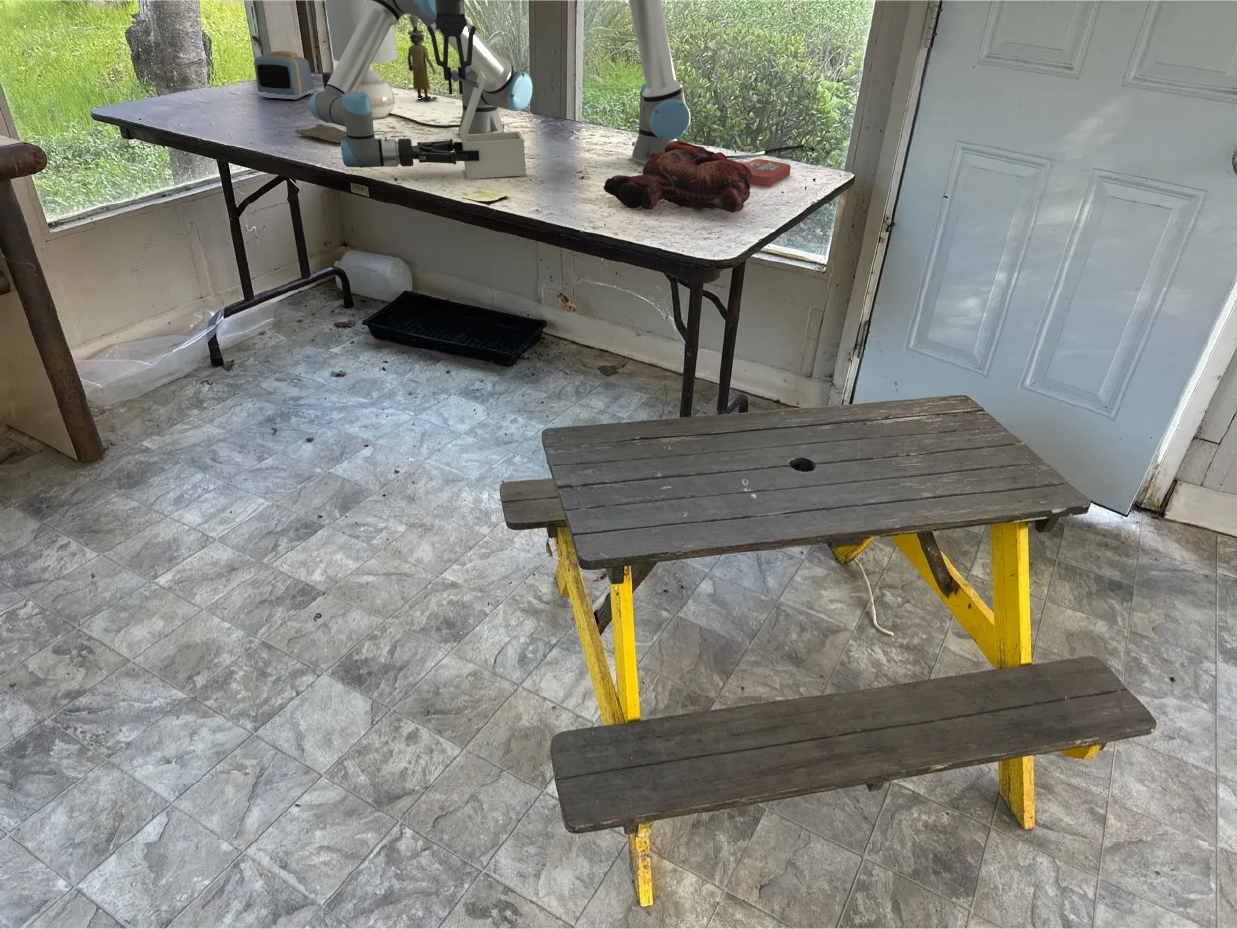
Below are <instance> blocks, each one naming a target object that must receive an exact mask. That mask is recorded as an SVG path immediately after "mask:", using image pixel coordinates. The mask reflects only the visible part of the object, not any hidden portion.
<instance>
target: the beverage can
mask: <svg viewBox="0 0 1237 929" xmlns="http://www.w3.org/2000/svg"><path fill="white" fill-rule="evenodd" d="M333 72H334V71H323V72H322V74H321V77H322V85H323V90H324V89H325V87H326V85H327V83H328V81H329V79H330V78H331V76H332V74H333Z"/></svg>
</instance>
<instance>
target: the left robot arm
mask: <svg viewBox="0 0 1237 929" xmlns="http://www.w3.org/2000/svg"><path fill="white" fill-rule="evenodd" d="M366 6H367V10H366V11H365V13H364V15H363V17H362V19H361V21H360V23H359V25H358V27H357V28H356V30H355V32H354V34H353V36H352V38H351V40H350V42H349V44H348V45H347V47H346V49H345V51H344V53H343V55H342V57H341V59H340V61H337V62H338V63H337V64H336V66H335V68H334V71H332V72H333V74H332V76H331V78H330V79H329V81H328V83H327V85H326V87H325V89H324V88H323V90H322V91H317V92H315V93H314V94H313V95H312V94H311V97H310V99H309V102H308V105H309V106H308V107H309V110H310V113H311V114H312V115H313V117H314V118H315V119H317V120H320V121H322V122H325V123H329V124H333V125H337V126H341V127H344V128H345V131H346V133H347V139H344V140H342V141H341V143H340V151H341V158H342V163H343V165H344V166H345V167H347V168H360V169H362V168H398V167H399V166H401V167H414V165H415V164H414V163H415V162H414V160H418V163H420V164H422V163H423V164H424V163H432V164H452V165H454V166H455V165H457V162H464V161H479V150H473V151H463V146H462V141H454V139H453V138H449V139H447V140H434V141H418V142H416V145H413V142H412V139H411V138H409V137H408V138H407V137H406V138H403V137H402V138H397V140H396V138H389V137H388V136H384V138H376V136H375V127H374V119H373V117H372V107H371V103H370V98H369V96H368V95H367V94H365V93H359V92H356V91H357V89H358V87H359V85H360V83H361V81H362V80H363V78H364V76H365V74H366V72H367V70H368V68H369V66H370V65H371V63H372V61H373V59H374V57H375V55H376V53H377V52H378V50H379V48H380V46H381V44H382V42H383V40H384V38H385V37H386V35H387V33H388V31H389V29H390V27H391V26H392V25H394V26H396V25H397V24H398V22H399V21H400V19H401V18H402V17H403V16H404V15H409V16H410V15H415V16H417V17H418V18H419V20H420V21H421V22H422V24H423V25H424V26H425V27H426V28H427V25H431V24H432V23H434V22H435V19H436V4H435V0H367V1H366ZM465 18H466V20H467V23H469V24H471V25H472V23H471V22H470V21H469V20H468V18H467V17H466V16H465ZM436 32H438V33H439V34H440V35H441V37H442V38H443V37H444V35H443V34H442V32H441V31H440V30H439V28H438V27H436ZM468 34H469V33H468V32H467V27H465V29H464V31H463V32H462V34H461V35H460V36H461V43H462V49H463V55H464V61H467V47H468ZM448 45H450V47H452V49H453V50H454V51H455V52H456V53H457V54H458V48H457V42H456V37H453V36H451V37H449V43H448ZM498 56H499V55H498V54H497V52H496V51H495V50H494V49H493V48H492V47H491V46H490V44H489V43H488V42H487V41H486V40H485V39H484V37H483V36H482V35H481V34H480V33H479V32H478V30H477V29H476V31H475V34H474V36H473V51H472V64H471V65H470V66H467V67H466V68H465V73H466V78H468V79H470V80H473V81H475V82H476V80H477V77H478V74H479V71H482V72H483V73H484V75H485V77H486V81H485V84H484V87H483V90H482V93H481V96H480V99H479V102H478V104H477V107H476V110H475V113H474V116H473V119H472V122H471V125H470V128H469V131H468V134H467V135H469V134H486V133H503V132H505V124H504V123H503V122H502V119H501V117H500V114H499V108H500V109H506V110H509V111H511V112H520V111H523V110H525V109H526V108H527V107H528V105H529V103H530V101H531V99H532V97H533V81H532V78H531V77H530V75H529V74H528V73H527V72H524V71H519V70H517V69H516V68H515V66H513V64H512V63H511V61H510V60H509V59H508V58H505V57H502V58H499V57H498ZM372 64H373V63H372ZM473 89H474V87H473V86H471V85H468V84H466V83H464V82H462V90H463V94H461V105H462V113H461V118H460V121H459V124H446V125H445V124H433V123H426V122H422V121H418V120H416V119H413V118H410V117H407V116H404V115H400V114H396V113H392V112H390V113H389V114H388V115H387V116H390V117H394V118H398V119H401V120H405V121H408V122H411V123H414V124H417V125H419V126H423V127H428V128H429V127H430V128H435V129H453V128H454V129H455V128H458V136H459V137H460V138H461V136H460V129H461V126H462V123H463V120H464V117H465V114H466V111H467V107H468V104H469V101H470V98H471V95H472V92H473Z"/></svg>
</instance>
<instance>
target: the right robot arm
mask: <svg viewBox="0 0 1237 929" xmlns="http://www.w3.org/2000/svg"><path fill="white" fill-rule="evenodd" d="M628 3H629V8H630V12H631V18H632V22H633V27H634V31H635V37H636V42H637V49H638V52H639V57H640V61H641V67H642V72H643V77H644V81H645V82H644V83H642V84H641V85H640V91H639V120H638V135H637V138H636V140H635V141H633V142H632V143H631V147H633V150H632V154H631V161H632V162H633V163H634V164H635V165H638V166H643V167H645V165H646V163H647V162H648V160H650V159H651V158H650V157H651V155H652V154H653V153H657V152H658V153H660V152H664V153H665V147H666V146H667V145H668V144H669V143H671V142H673V141H677V140H678V139H679V138H680V137H682V136H683V135H684V134H685V133H686V132H687V130H688V128H689V127H690V123H691V112H690V109H689V106H688V105H687V104H686V99H685V93H684V88H683V84H682V83H681V82H680V81H678V80H677V79H676V72H675V67H674V63H673V57H672V52H671V45H670V41H669V40H670V39H669V35H668V29H667V25H666V17H665V13H664V7H663V0H628ZM435 4H436V19H435V22H434V23H432V24H431V25H427V27H426V30H427V31H428V33H429V35H430V39H431V44H432V49H433V53H434V59H435V64H436V66H439V67H441V68H442V73H443V79H444V81H447V82H448V84H447V85H448V93H449V95H453V83H452V82H453V80H452V78H451V71H452V68H451V66H449V37H451V36H453V37H456V42H457V48H458V53H457V55H458V59H459V65H460V66H457V72H458V74H459V78H462V79H464V80H466V73H465V68H466V67H467V66H470V65H471V64H472V51H473V36H474V34H475V31H476V30H477V27H476V26H475V24H472V23H471V24H469V23H467V20H468V19H467V17H466V9H465V0H435ZM465 17H466V18H465ZM466 19H467V20H466ZM436 27H438V28H439V30H440V31H441V32H442V34H443V35H444V37H443V36H442V39H443V43H442V44H443V45H442V60H441V56H440V50H439V46H438V42H437V37H436V36H437V35H436V33H437V31H436ZM465 27H467V32H468V33H469V34H468V47H467V61H464V55H463V49H462V43H461V36H460V35H461V34H462V32H463V31H464V29H465ZM458 92H459V93H458V94H459V95H462V94H463V90H462V82H461V81H458ZM803 145H804V144H800V145H799V144H798V145H793V146H782V147H776V148H771V149H766V150H763V151H758V152H754V153H749V154H741V155H739V154H738V155H725V156H726V158H727V159H741V158H742V159H743V158H750V157H754V156H759V155H765V154H768V153H772V152H777V151H782V150H794V149H800V148H805V147H804V146H803ZM809 149H810V150H811V151H812V152H816V149H815V148H814V147H812V148H809Z"/></svg>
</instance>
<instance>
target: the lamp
mask: <svg viewBox="0 0 1237 929" xmlns="http://www.w3.org/2000/svg"><path fill="white" fill-rule="evenodd" d="M366 1H367V0H324V3H325V9H326V18H327V23H328V30H329V37H330V45H331V51H332V58H333V60H334V61H336V62H339V61H340V59H341V57H342V55H343V53H344V51H345V49H346V47H347V45H348V44H349V42H350V40H351V38H352V36H353V34H354V32H355V30H356V28H357V27H358V25H359V23H360V21H361V19H362V17H363V15H364V13H365V11H366V10H367V6H366ZM397 59H398V50H397V40H396V31H395V25H392V26H391V27H390V29H389V31H388V33H387V35H386V37H385V38H384V40H383V42H382V44H381V46H380V48H379V50H378V52H377V53H376V55H375V57H374V59H373V61H372V63H371V65H370V66H369V68H368V70H367V72H366V74H365V76H364V78H363V80H362V81H361V83H360V85H359V87H358V89H357V91H356V92H359V93H365V94H367V95H368V96H369V98H370V103H371V107H372V117H373V120H375V119H382V118H385V117H387V116H389V115H388V114H389V113H392V111H393V110H394V107H395V103H396V102H395V95H394V91H393V89H392V87H391V85H390V83H389V82H388V81H387V80H386V79H385V78H384V77H383V75H381V74H380V73H379V72H378V71H376V70H375V68H374V67H373V64H382V63H390V62H393V61H396V60H397Z"/></svg>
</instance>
